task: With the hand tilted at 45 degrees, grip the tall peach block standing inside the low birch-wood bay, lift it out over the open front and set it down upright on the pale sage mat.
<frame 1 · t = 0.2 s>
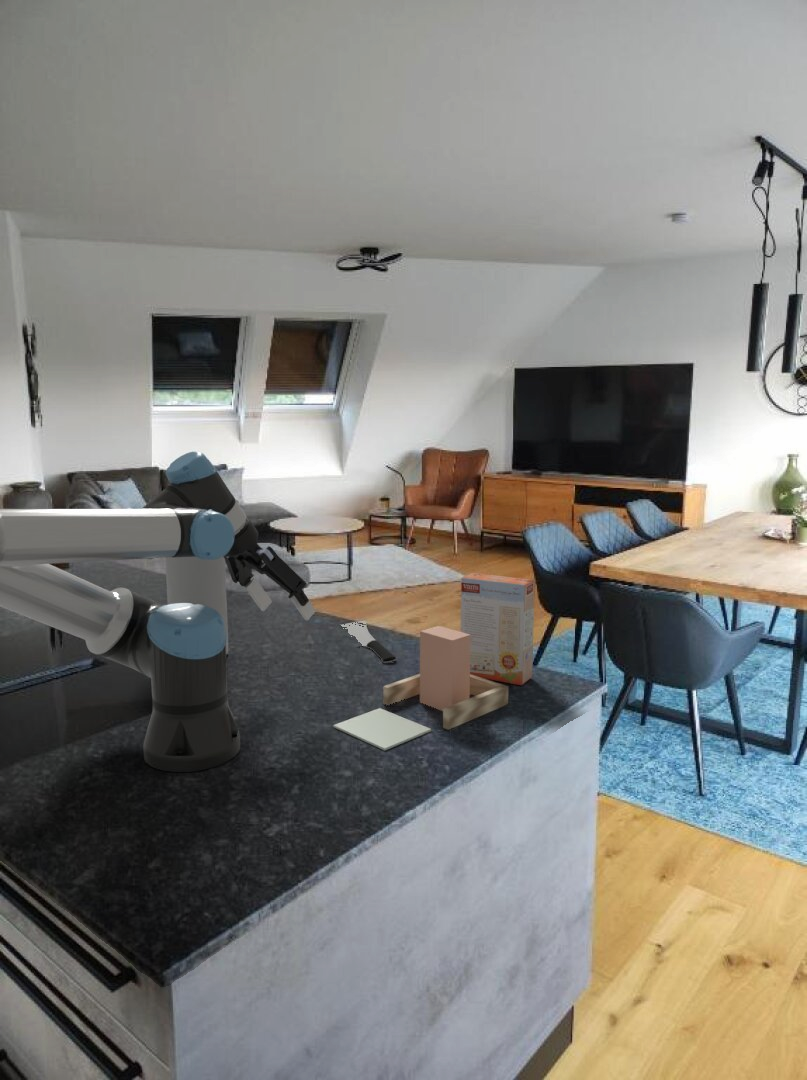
hand: (288, 610, 155), 16 cm above the worktop, tool tilted 35°, fingers open, 13 cm apart
cylinder vase: (199, 656, 176), on the worktop
kitchen cleaver: (361, 645, 186), on the worktop
sage mat: (382, 729, 138), on the worktop
birch bay: (444, 704, 149), on the worktop
peach block: (444, 669, 147), in the birch bay
cracker box: (495, 677, 164), on the worktop
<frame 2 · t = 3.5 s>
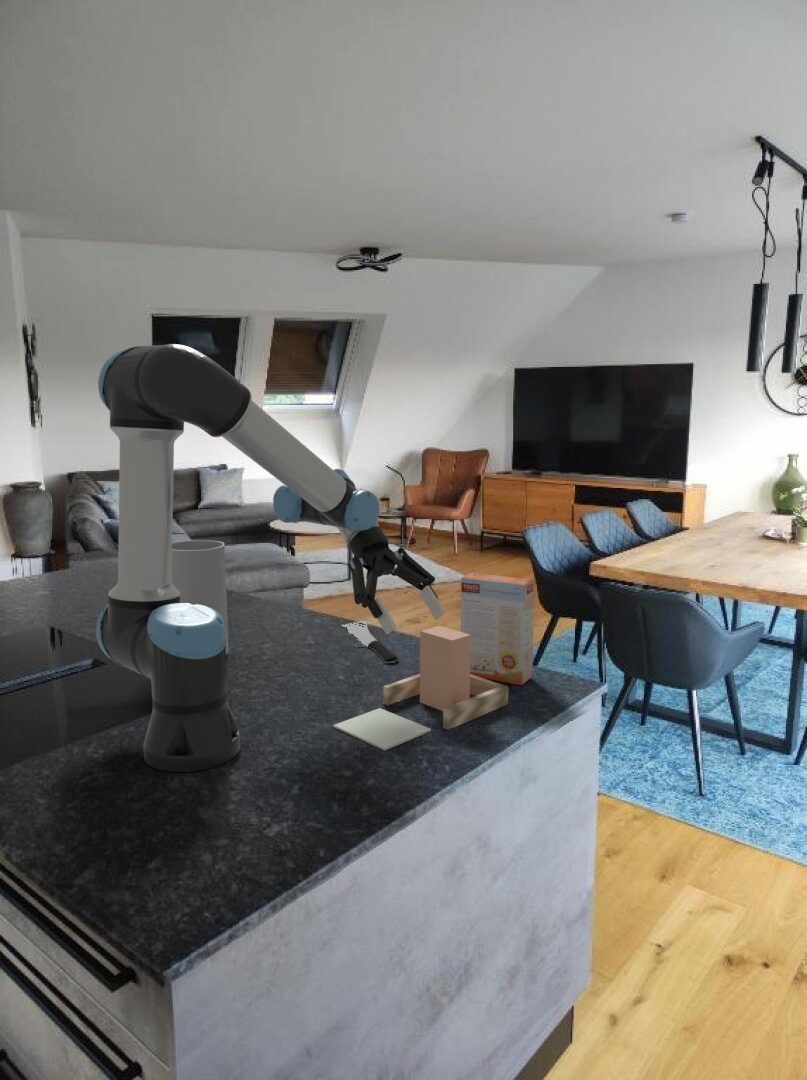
hand: (416, 623, 153), 14 cm above the worktop, tool tilted 45°, fingers open, 13 cm apart
nothing on the worktop moved.
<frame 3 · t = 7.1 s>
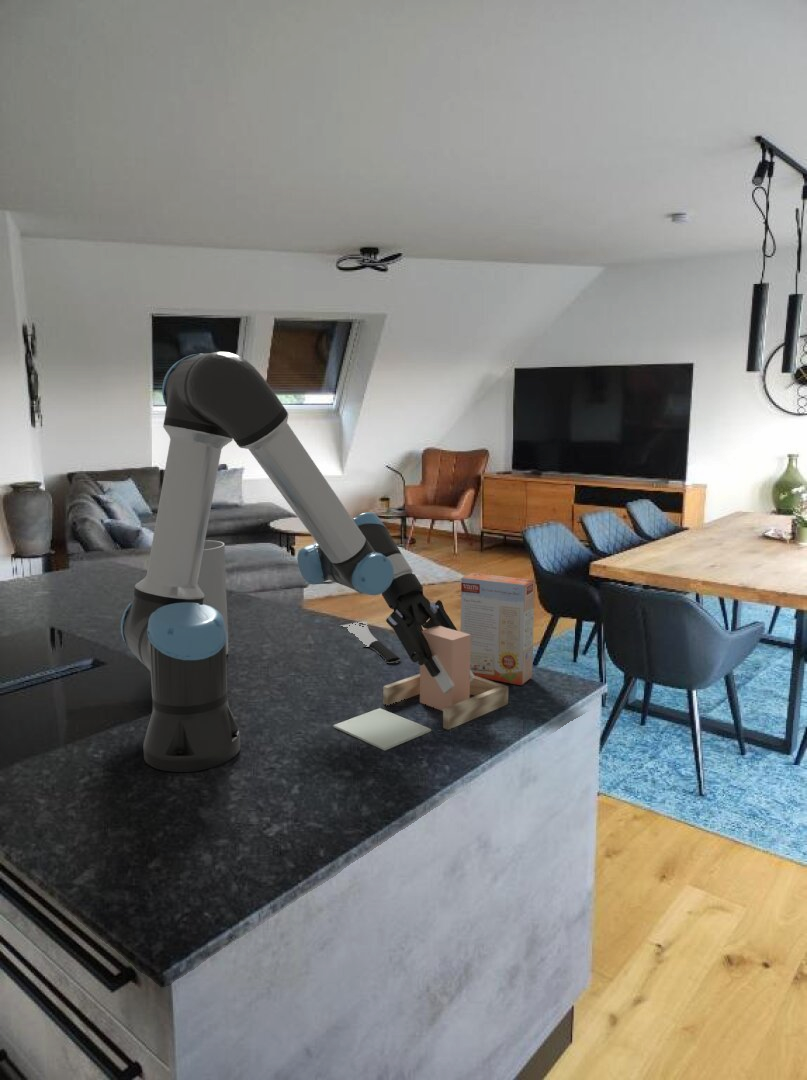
hand: (459, 685, 145), 5 cm above the worktop, tool tilted 45°, fingers closed on peach block, 5 cm apart
peach block: (444, 669, 147), in the birch bay, touching gripper
everything else where it was.
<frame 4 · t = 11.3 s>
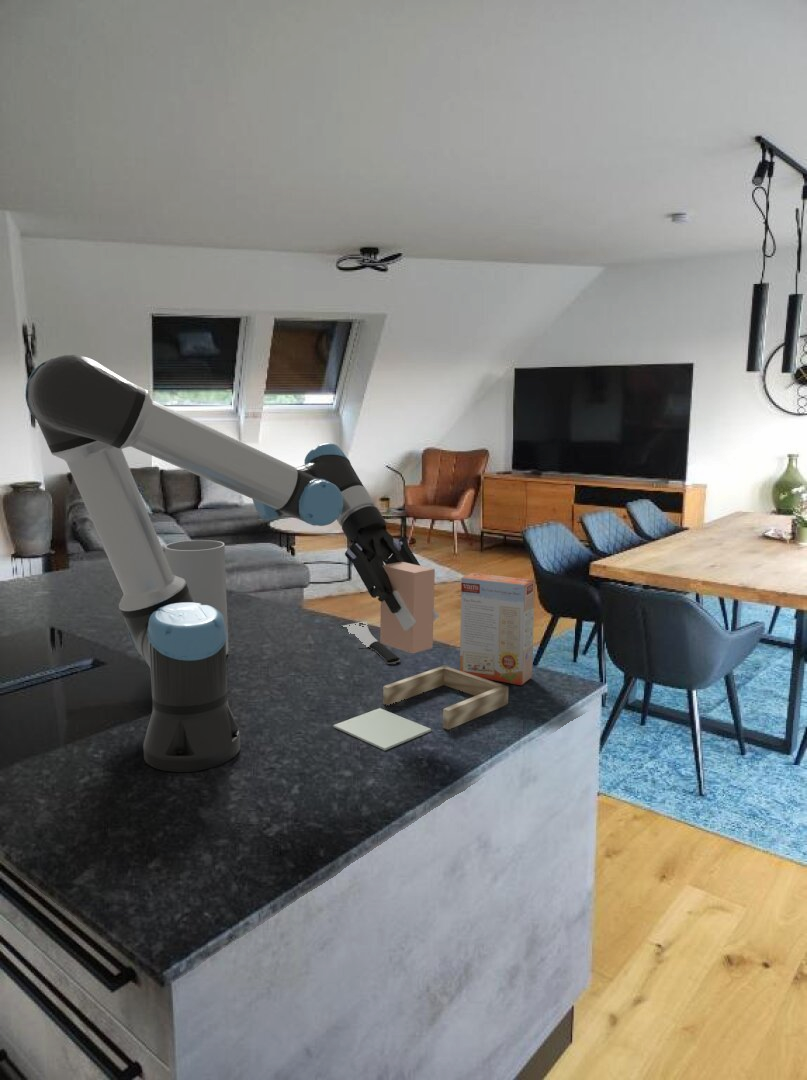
hand: (422, 623, 136), 19 cm above the worktop, tool tilted 45°, fingers closed on peach block, 5 cm apart
peach block: (407, 606, 138), point 21 cm above the worktop, touching gripper
everything else where it was.
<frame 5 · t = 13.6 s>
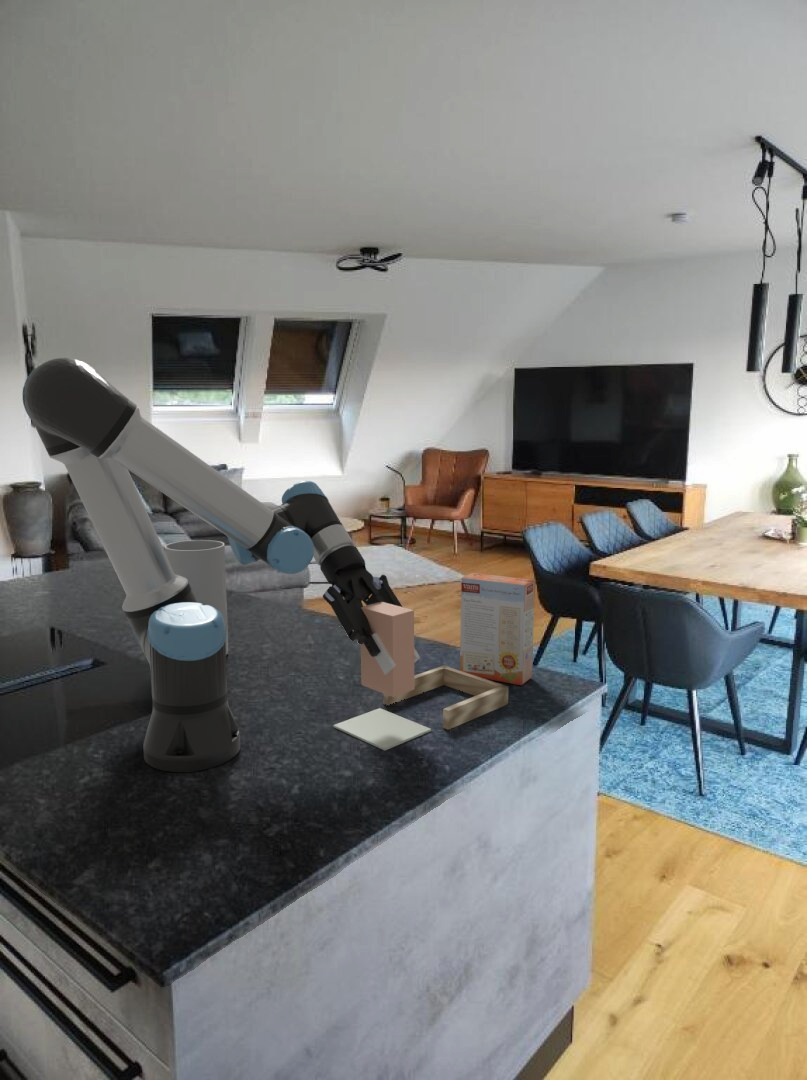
hand: (402, 665, 133), 12 cm above the worktop, tool tilted 45°, fingers closed on peach block, 5 cm apart
peach block: (387, 648, 136), point 14 cm above the worktop, touching gripper
when the fingers open (7 cm above the worktop, at t = 15.6 s): peach block drops 1 cm, resting on sage mat.
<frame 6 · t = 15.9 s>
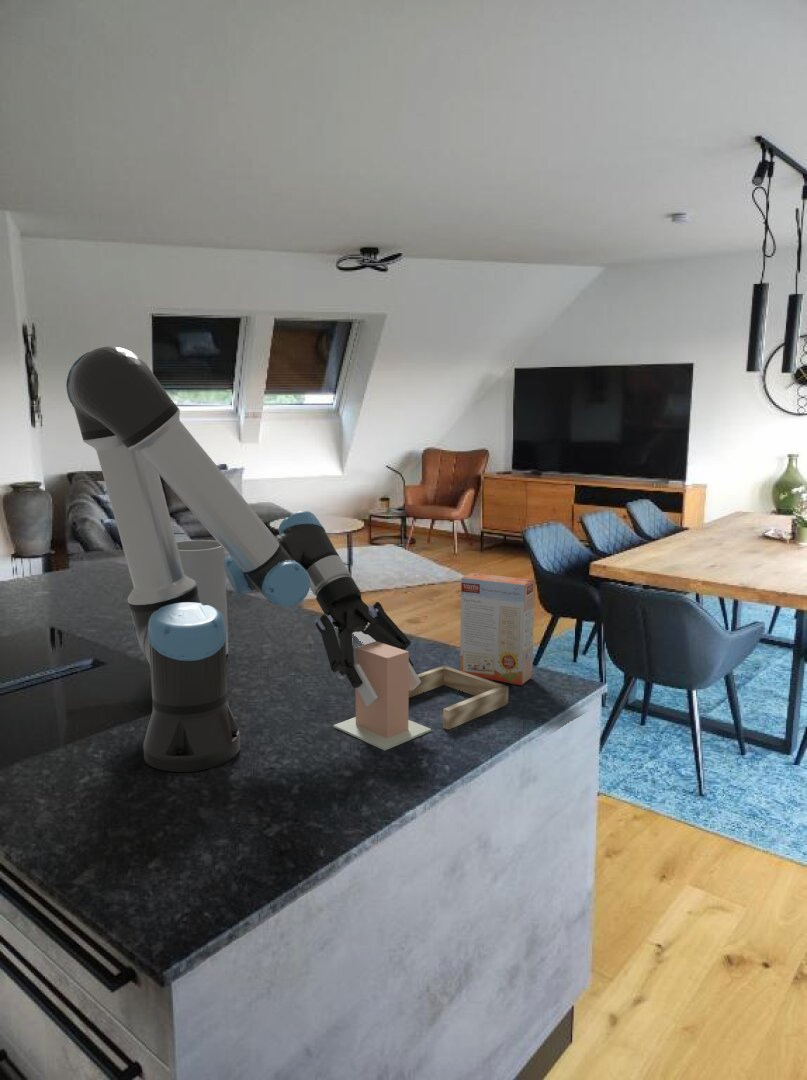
hand: (394, 694, 134), 7 cm above the worktop, tool tilted 45°, fingers open, 9 cm apart
peach block: (381, 688, 136), on the sage mat
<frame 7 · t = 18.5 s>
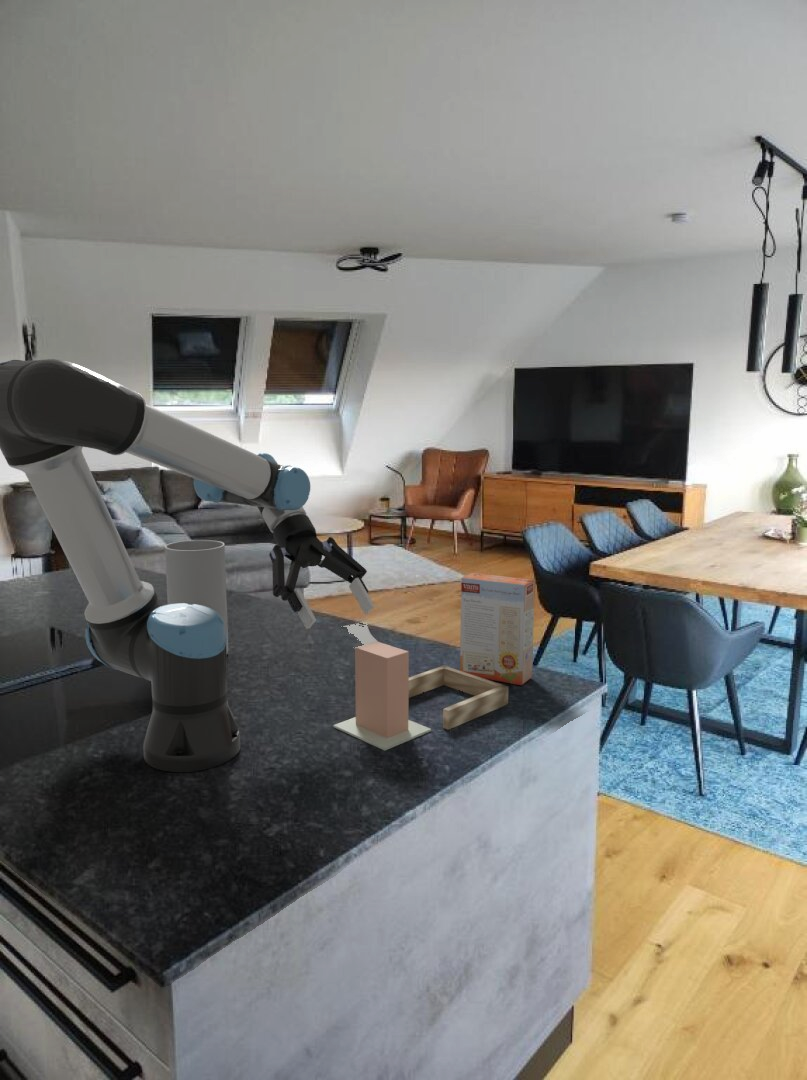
hand: (341, 617, 142), 18 cm above the worktop, tool tilted 45°, fingers open, 13 cm apart
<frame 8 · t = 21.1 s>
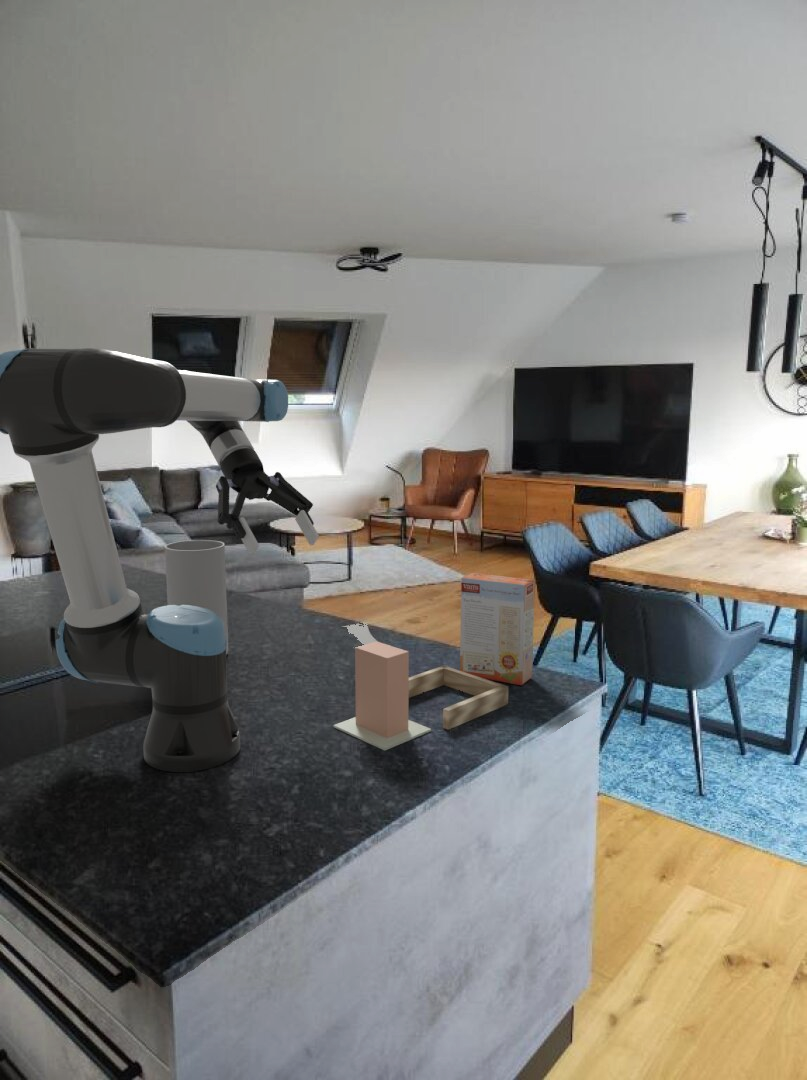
hand: (285, 545, 146), 30 cm above the worktop, tool tilted 45°, fingers open, 13 cm apart
at the end: peach block inside the target area on the sage mat (0.0 cm from its centre), point 7.4 cm above the sage mat's base; peach block tilted 0°; the gripper is holding nothing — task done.
